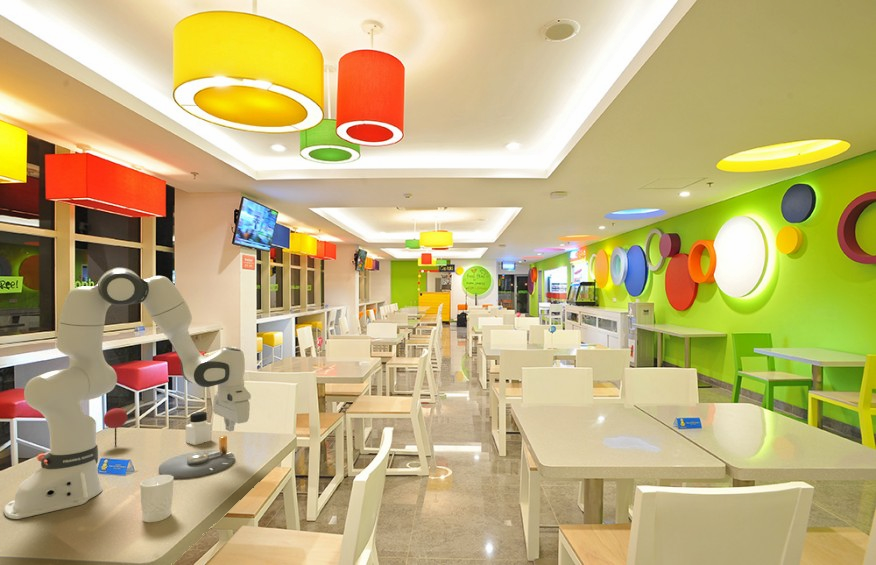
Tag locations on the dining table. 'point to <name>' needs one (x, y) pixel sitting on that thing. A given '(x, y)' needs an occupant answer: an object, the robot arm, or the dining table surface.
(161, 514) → the white cup
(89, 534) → the dining table surface
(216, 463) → the dial plate
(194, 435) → the white square bottle
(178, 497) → the dining table surface
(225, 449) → the dial
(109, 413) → the lollipop
